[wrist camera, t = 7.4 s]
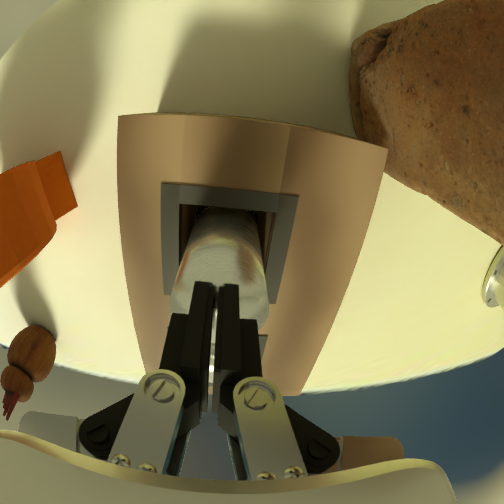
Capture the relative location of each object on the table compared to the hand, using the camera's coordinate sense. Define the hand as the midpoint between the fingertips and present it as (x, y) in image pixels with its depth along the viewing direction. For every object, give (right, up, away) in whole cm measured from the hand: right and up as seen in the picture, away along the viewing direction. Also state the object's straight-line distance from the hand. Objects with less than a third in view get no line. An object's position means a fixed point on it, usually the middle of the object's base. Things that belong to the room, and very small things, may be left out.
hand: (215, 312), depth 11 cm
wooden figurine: (-28, -9, +18) cm, 34 cm away
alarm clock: (-19, +8, +9) cm, 23 cm away
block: (+12, +15, +7) cm, 20 cm away
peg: (0, +3, +6) cm, 7 cm away
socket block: (0, +2, +13) cm, 13 cm away
